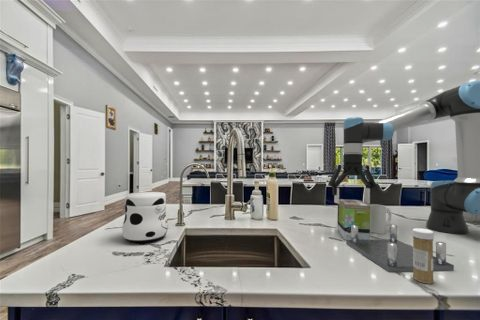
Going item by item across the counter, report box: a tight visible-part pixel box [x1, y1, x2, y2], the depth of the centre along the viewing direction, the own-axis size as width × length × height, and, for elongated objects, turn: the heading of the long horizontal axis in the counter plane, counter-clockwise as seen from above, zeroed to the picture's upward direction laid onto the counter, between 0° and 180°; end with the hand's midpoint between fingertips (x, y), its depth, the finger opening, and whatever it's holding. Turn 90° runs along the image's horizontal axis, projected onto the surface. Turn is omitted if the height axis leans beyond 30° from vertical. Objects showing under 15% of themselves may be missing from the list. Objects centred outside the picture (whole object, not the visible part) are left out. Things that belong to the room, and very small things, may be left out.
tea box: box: [336, 198, 371, 241], centre depth 104 cm, size 15×10×15 cm, turn 168°
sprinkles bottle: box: [411, 227, 435, 284], centre depth 65 cm, size 5×5×14 cm
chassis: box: [345, 223, 455, 273], centre depth 82 cm, size 20×24×8 cm
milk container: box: [121, 191, 169, 243], centre depth 99 cm, size 17×17×18 cm
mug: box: [368, 203, 392, 235], centre depth 110 cm, size 10×7×12 cm, turn 94°
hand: (351, 203), depth 104 cm, fingers open, 13 cm apart
